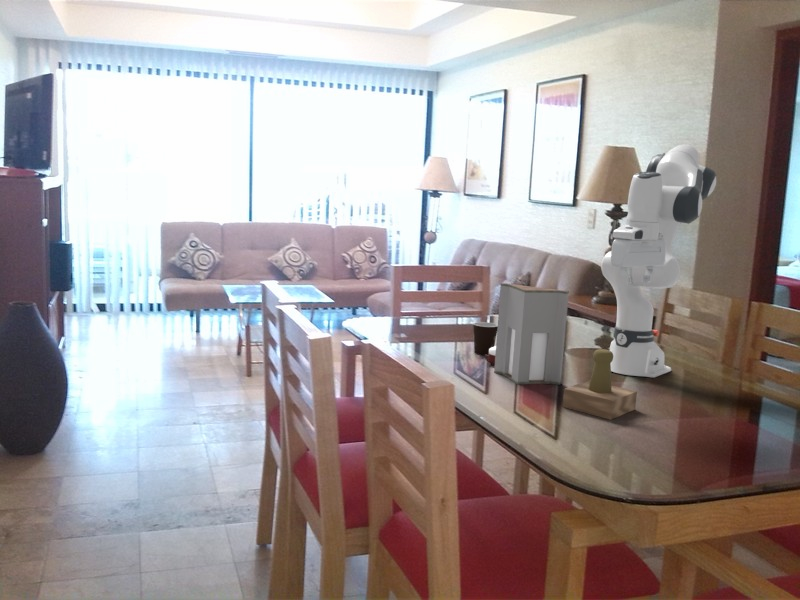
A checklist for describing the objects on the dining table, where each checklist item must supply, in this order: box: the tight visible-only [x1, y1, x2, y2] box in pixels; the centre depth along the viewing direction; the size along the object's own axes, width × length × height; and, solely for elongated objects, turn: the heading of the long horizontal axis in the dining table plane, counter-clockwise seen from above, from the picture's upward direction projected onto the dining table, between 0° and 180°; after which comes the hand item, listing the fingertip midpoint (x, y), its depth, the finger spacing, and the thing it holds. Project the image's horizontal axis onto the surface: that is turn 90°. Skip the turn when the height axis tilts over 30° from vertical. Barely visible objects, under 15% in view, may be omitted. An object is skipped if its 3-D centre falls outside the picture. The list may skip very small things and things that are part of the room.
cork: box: [589, 348, 613, 393], centre depth 202 cm, size 6×6×11 cm
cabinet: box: [493, 282, 570, 386], centre depth 227 cm, size 21×10×28 cm, turn 59°
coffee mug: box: [472, 321, 498, 356], centre depth 264 cm, size 12×9×10 cm
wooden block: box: [562, 379, 638, 421], centre depth 204 cm, size 14×14×5 cm
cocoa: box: [485, 345, 496, 366], centre depth 247 cm, size 10×6×12 cm, turn 96°
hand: (636, 282), depth 209 cm, fingers open, 8 cm apart
